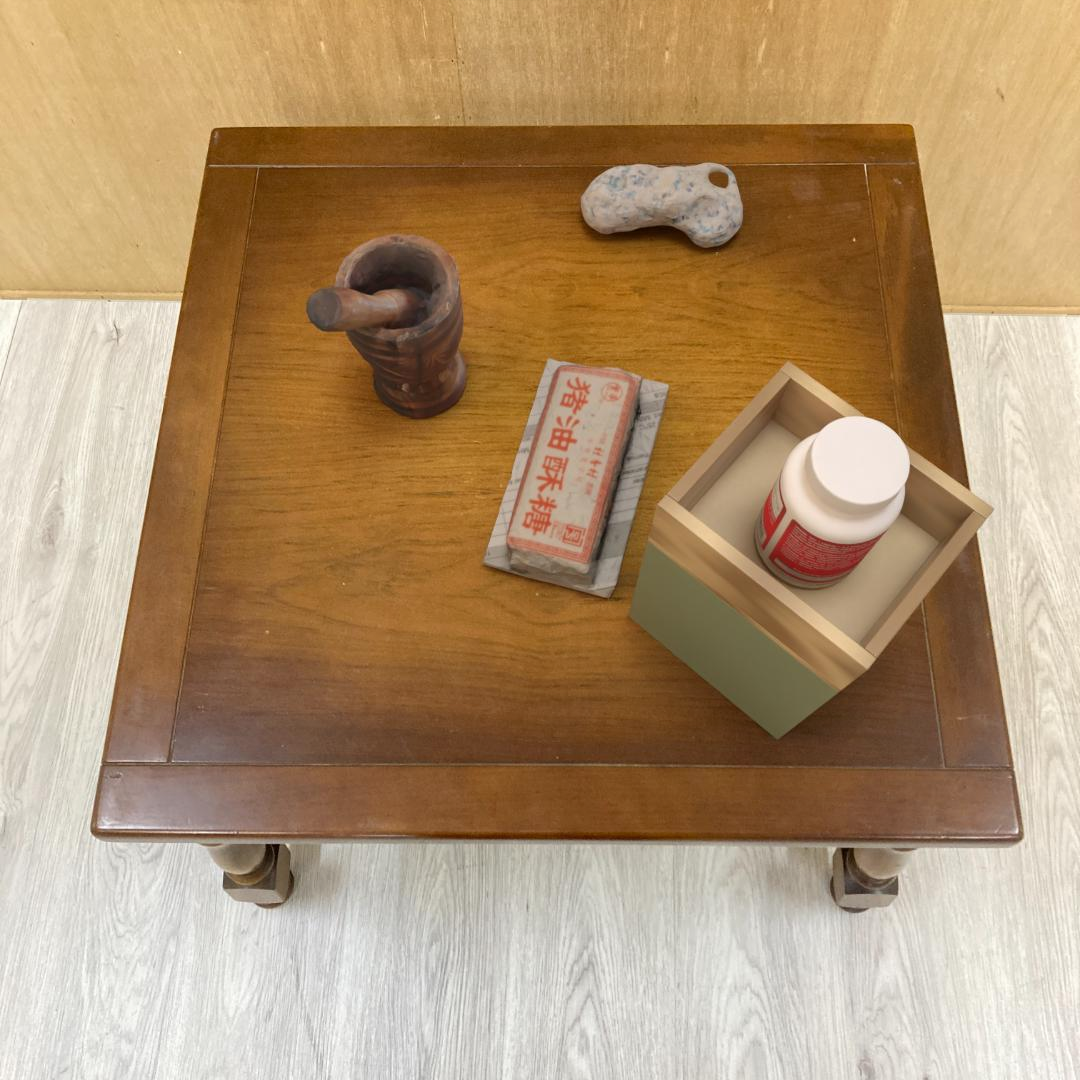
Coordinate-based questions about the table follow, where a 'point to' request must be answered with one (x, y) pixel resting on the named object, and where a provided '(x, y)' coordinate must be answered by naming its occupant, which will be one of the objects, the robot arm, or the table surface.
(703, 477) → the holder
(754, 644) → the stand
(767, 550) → the pill bottle
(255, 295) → the table surface
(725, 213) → the decorative stone
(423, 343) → the mortar and pestle
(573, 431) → the packaged product
